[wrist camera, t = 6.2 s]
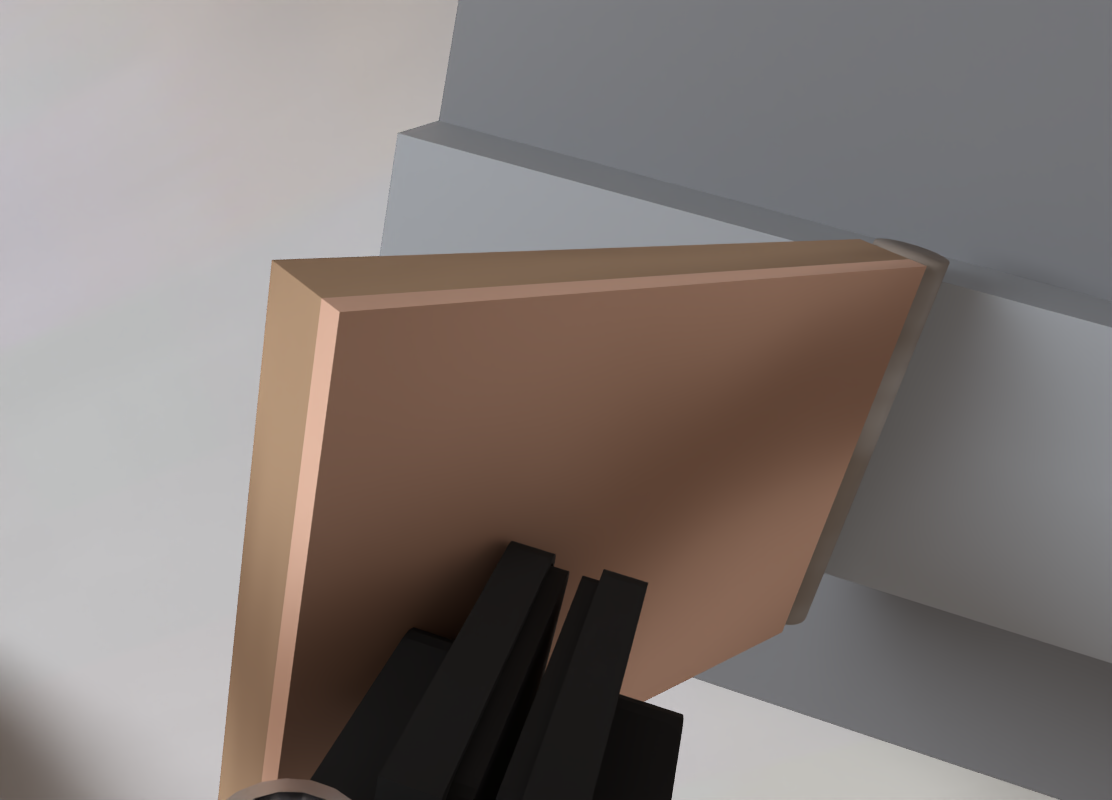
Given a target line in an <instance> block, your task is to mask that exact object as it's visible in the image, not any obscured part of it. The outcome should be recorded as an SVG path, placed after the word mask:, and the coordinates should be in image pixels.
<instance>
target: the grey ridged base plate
mask: <svg viewBox="0 0 1112 800" xmlns="http://www.w3.org/2000/svg"><path fill="white" fill-rule="evenodd" d="M877 238H884V239H892V240H897V241H902V242H906V243H909V244H913V245H916V246H919V247H922V248H925V249H928V250H930V251H933V252H935V253H937V254H939V255H941V256H943V257H945V258H946V259H948V260H949V262H950V263H949V266H948V268H947V271H946V273H945V276H944V278H943V281H942V283H941V286H940V288H939V291H938V293H937V296H936V298H935V301H934V303H933V305H932V308H931V310H930V313H929V315H928V318H927V320H926V323H925V325H924V328H923V330H922V333H921V335H920V338H919V340H918V342H917V345H916V347H915V350H914V352H913V355H912V357H911V360H910V362H909V365H908V367H907V370H906V372H905V375H904V377H903V380H902V382H901V384H900V387H899V389H898V392H897V394H896V397H895V399H894V402H893V404H892V407H891V409H890V412H889V414H888V417H887V419H886V422H885V424H884V426H883V429H882V431H881V434H880V436H879V439H878V441H877V444H876V446H875V449H874V451H873V454H872V456H871V459H870V461H869V463H868V466H867V468H866V471H865V473H864V476H863V478H862V481H861V483H860V486H859V488H858V491H857V493H856V496H855V498H854V501H853V503H852V505H851V508H850V510H849V513H848V515H847V518H846V520H845V523H844V525H843V528H842V530H841V533H840V535H839V538H838V540H837V542H836V545H835V547H834V550H833V552H832V555H831V557H830V560H829V562H828V565H827V567H826V570H825V572H824V575H823V577H822V580H821V582H820V584H819V587H818V589H817V592H816V594H815V597H814V599H813V602H812V604H811V607H810V609H809V612H808V614H807V617H806V619H805V620H804V621H803V622H802V623H799V624H796V625H785V626H784V629H783V631H782V633H780V634H778V635H776V636H774V637H772V638H770V639H768V640H766V641H764V642H762V643H760V644H758V645H756V646H754V647H752V648H750V649H748V650H746V651H744V652H742V653H740V654H738V655H736V656H734V657H732V658H730V659H728V660H726V661H724V662H722V663H720V664H718V665H716V666H714V667H712V668H710V669H708V670H706V671H704V672H702V673H700V674H698V675H696V676H694V677H693V678H696V679H699V680H702V681H705V682H708V683H711V684H714V685H717V686H720V687H723V688H726V689H729V690H732V691H735V692H738V693H741V694H744V695H747V696H750V697H753V698H756V699H759V700H762V701H765V702H768V703H771V704H774V705H777V706H780V707H783V708H786V709H789V710H792V711H795V712H798V713H801V714H804V715H807V716H810V717H813V718H816V719H819V720H822V721H825V722H828V723H831V724H834V725H837V726H840V727H843V728H846V729H849V730H852V731H855V732H858V733H861V734H864V735H867V736H870V737H873V738H876V739H879V740H882V741H885V742H888V743H891V744H894V745H897V746H900V747H903V748H906V749H909V750H912V751H915V752H918V753H921V754H924V755H927V756H930V757H933V758H936V759H939V760H942V761H945V762H948V763H951V764H954V765H957V766H960V767H963V768H966V769H969V770H972V771H975V772H978V773H981V774H985V775H988V776H991V777H994V778H997V779H1000V780H1003V781H1006V782H1009V783H1012V784H1015V785H1018V786H1021V787H1024V788H1027V789H1030V790H1033V791H1036V792H1039V793H1042V794H1045V795H1048V796H1051V797H1054V798H1057V799H1060V800H1112V0H459V1H458V7H457V14H456V20H455V26H454V32H453V38H452V44H451V50H450V56H449V62H448V68H447V74H446V80H445V86H444V93H443V99H442V105H441V111H440V117H439V121H436V122H433V123H430V124H426V125H423V126H420V127H417V128H413V129H410V130H407V131H403V132H400V133H398V135H397V142H396V149H395V155H394V162H393V169H392V176H391V182H390V189H389V196H388V203H387V210H386V216H385V223H384V230H383V237H382V243H381V250H380V256H398V255H426V254H454V253H482V252H510V251H538V250H566V249H594V248H622V247H650V246H678V245H706V244H734V243H762V242H790V241H818V240H846V239H861V240H864V241H866V242H869V243H871V244H873V242H874V240H875V239H877Z"/></svg>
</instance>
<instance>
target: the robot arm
mask: <svg viewBox="0 0 1112 800" xmlns="http://www.w3.org/2000/svg"><path fill="white" fill-rule="evenodd" d="M555 559H556V554H554V553H550V552H547V551H544V550H541V549H537V548H534V547H531V546H528V545H525V544H521V543H518V542H515V541H511V542H510V543H509V545H508V546H507V548H506V550H505V552H504V553H503V555H502V557H501V559H500V560H499V562H498V564H497V566H496V568H495V569H494V571H493V573H492V575H491V576H490V578H489V580H488V582H487V584H486V585H485V587H484V589H483V591H482V592H481V594H480V596H479V598H478V600H477V601H476V603H475V605H474V607H473V608H472V610H471V612H470V614H469V616H468V617H467V619H466V621H465V623H464V624H463V626H462V628H461V630H460V632H459V633H458V635H457V637H456V639H455V640H451V639H448V638H445V637H442V636H439V635H436V634H433V633H430V632H427V631H424V630H421V629H418V628H414V627H413V628H411V629H409V630H408V631H407V633H406V634H405V635H404V637H403V638H402V639H401V641H400V643H399V644H398V646H397V647H396V649H395V650H394V652H393V653H392V655H391V656H390V658H389V659H388V661H387V662H386V664H385V666H384V667H383V669H382V670H381V672H380V673H379V675H378V676H377V678H376V679H375V681H374V682H373V684H372V685H371V687H370V689H369V690H368V692H367V693H366V695H365V696H364V698H363V699H362V701H361V702H360V704H359V705H358V707H357V708H356V710H355V712H354V713H353V715H352V716H351V718H350V719H349V721H348V722H347V724H346V725H345V727H344V728H343V730H342V731H341V733H340V735H339V736H338V738H337V739H336V741H335V742H334V744H333V745H332V747H331V748H330V750H329V751H328V753H327V754H326V756H325V758H324V759H323V761H322V762H321V764H320V765H319V767H318V768H317V770H316V771H315V773H314V774H313V776H312V777H311V779H310V780H301V779H289V778H285V779H278V780H271V781H265V782H260V783H257V784H255V785H252V786H250V787H247V788H245V789H242V790H240V791H237V792H236V793H234V794H233V795H232V796H230V797H229V798H228V799H226V800H671V798H672V792H673V785H674V779H675V773H676V766H677V760H678V753H679V747H680V740H681V734H682V727H683V714H680V713H677V712H674V711H670V710H667V709H664V708H661V707H658V706H655V705H652V704H649V703H646V702H643V701H640V700H637V699H633V698H630V697H627V696H624V695H621V694H620V690H621V686H622V682H623V678H624V675H625V671H626V667H627V663H628V659H629V655H630V652H631V648H632V644H633V640H634V636H635V632H636V629H637V625H638V621H639V617H640V613H641V609H642V606H643V602H644V598H645V594H646V590H647V586H648V582H645V581H642V580H638V579H635V578H632V577H629V576H625V575H622V574H619V573H616V572H612V571H609V570H606V569H604V570H603V572H602V575H601V578H600V580H596V579H593V578H590V577H586V576H582V578H581V580H580V583H579V585H578V588H577V591H576V593H575V596H574V598H573V601H572V603H571V606H570V609H569V611H568V614H567V616H566V619H565V621H564V624H563V627H562V629H561V632H560V634H559V637H558V639H557V642H556V645H555V647H554V650H553V652H552V655H551V657H550V660H549V663H548V665H547V661H548V657H549V653H550V649H551V645H552V641H553V638H554V634H555V630H556V626H557V622H558V618H559V614H560V610H561V606H562V602H563V598H564V594H565V590H566V586H567V582H568V578H569V571H567V570H564V569H560V568H557V567H554V564H555ZM546 665H547V668H546ZM545 669H546V670H545Z"/></svg>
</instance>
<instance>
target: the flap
mask: <svg viewBox="0 0 1112 800" xmlns="http://www.w3.org/2000/svg"><path fill="white" fill-rule="evenodd" d="M949 263H950V262H949V260H948V259H946V258H945V257H943V256H941V255H939V254H937V253H935V252H933V251H930V250H928V249H925V248H922V247H919V246H916V245H913V244H909V243H906V242H902V241H897V240H892V239H884V238H877V239H875V240H874V242H873V244H871V243H869V242H866V241H864V240H861V239H846V240H818V241H790V242H762V243H734V244H706V245H678V246H650V247H622V248H594V249H566V250H538V251H510V252H482V253H454V254H426V255H398V256H370V257H342V258H314V259H286V260H272V265H271V275H270V285H269V295H268V305H267V315H266V325H265V335H264V345H263V355H262V365H261V375H260V385H259V395H258V405H257V415H256V425H255V435H254V445H253V455H252V465H251V475H250V485H249V495H248V505H247V515H246V525H245V535H244V545H243V555H242V565H241V575H240V585H239V595H238V605H237V615H236V625H235V636H234V646H233V656H232V666H231V676H230V686H229V696H228V706H227V716H226V726H225V736H224V746H223V756H222V766H221V776H220V786H219V796H218V800H226V799H228V798H229V797H230V796H232V795H233V794H234V793H236V792H237V791H240V790H242V789H245V788H247V787H250V786H252V785H255V784H257V783H260V782H265V781H271V780H278V779H285V778H289V779H301V780H310V779H311V777H312V776H313V774H314V773H315V771H316V770H317V768H318V767H319V765H320V764H321V762H322V761H323V759H324V758H325V756H326V754H327V753H328V751H329V750H330V748H331V747H332V745H333V744H334V742H335V741H336V739H337V738H338V736H339V735H340V733H341V731H342V730H343V728H344V727H345V725H346V724H347V722H348V721H349V719H350V718H351V716H352V715H353V713H354V712H355V710H356V708H357V707H358V705H359V704H360V702H361V701H362V699H363V698H364V696H365V695H366V693H367V692H368V690H369V689H370V687H371V685H372V684H373V682H374V681H375V679H376V678H377V676H378V675H379V673H380V672H381V670H382V669H383V667H384V666H385V664H386V662H387V661H388V659H389V658H390V656H391V655H392V653H393V652H394V650H395V649H396V647H397V646H398V644H399V643H400V641H401V639H402V638H403V637H404V635H405V634H406V633H407V631H408V630H409V629H411V628H413V627H414V628H418V629H421V630H424V631H427V632H430V633H433V634H436V635H439V636H442V637H445V638H448V639H451V640H455V639H456V637H457V635H458V633H459V632H460V630H461V628H462V626H463V624H464V623H465V621H466V619H467V617H468V616H469V614H470V612H471V610H472V608H473V607H474V605H475V603H476V601H477V600H478V598H479V596H480V594H481V592H482V591H483V589H484V587H485V585H486V584H487V582H488V580H489V578H490V576H491V575H492V573H493V571H494V569H495V568H496V566H497V564H498V562H499V560H500V559H501V557H502V555H503V553H504V552H505V550H506V548H507V546H508V545H509V543H510V542H511V541H515V542H518V543H521V544H525V545H528V546H531V547H534V548H537V549H541V550H544V551H547V552H550V553H554V554H556V559H555V564H554V567H557V568H560V569H564V570H567V571H569V578H568V582H567V586H566V590H565V594H564V598H563V602H562V606H561V610H560V614H559V618H558V622H557V626H556V630H555V634H554V638H553V641H552V645H551V649H550V653H549V657H548V661H547V665H548V663H549V660H550V657H551V655H552V652H553V650H554V647H555V645H556V642H557V639H558V637H559V634H560V632H561V629H562V627H563V624H564V621H565V619H566V616H567V614H568V611H569V609H570V606H571V603H572V601H573V598H574V596H575V593H576V591H577V588H578V585H579V583H580V580H581V578H582V576H586V577H590V578H593V579H596V580H600V578H601V575H602V572H603V570H604V569H606V570H609V571H612V572H616V573H619V574H622V575H625V576H629V577H632V578H635V579H638V580H642V581H645V582H648V586H647V590H646V594H645V598H644V602H643V606H642V609H641V613H640V617H639V621H638V625H637V629H636V632H635V636H634V640H633V644H632V648H631V652H630V655H629V659H628V663H627V667H626V671H625V675H624V678H623V682H622V686H621V690H620V694H621V695H624V696H627V697H630V698H633V699H637V700H640V701H643V702H644V701H646V700H648V699H650V698H652V697H654V696H656V695H658V694H660V693H662V692H664V691H666V690H668V689H670V688H672V687H674V686H676V685H678V684H680V683H682V682H684V681H686V680H688V679H690V678H692V677H694V676H696V675H698V674H700V673H702V672H704V671H706V670H708V669H710V668H712V667H714V666H716V665H718V664H720V663H722V662H724V661H726V660H728V659H730V658H732V657H734V656H736V655H738V654H740V653H742V652H744V651H746V650H748V649H750V648H752V647H754V646H756V645H758V644H760V643H762V642H764V641H766V640H768V639H770V638H772V637H774V636H776V635H778V634H780V633H782V631H783V629H784V626H785V625H796V624H799V623H802V622H803V621H804V620H805V619H806V617H807V614H808V612H809V609H810V607H811V604H812V602H813V599H814V597H815V594H816V592H817V589H818V587H819V584H820V582H821V580H822V577H823V575H824V572H825V570H826V567H827V565H828V562H829V560H830V557H831V555H832V552H833V550H834V547H835V545H836V542H837V540H838V538H839V535H840V533H841V530H842V528H843V525H844V523H845V520H846V518H847V515H848V513H849V510H850V508H851V505H852V503H853V501H854V498H855V496H856V493H857V491H858V488H859V486H860V483H861V481H862V478H863V476H864V473H865V471H866V468H867V466H868V463H869V461H870V459H871V456H872V454H873V451H874V449H875V446H876V444H877V441H878V439H879V436H880V434H881V431H882V429H883V426H884V424H885V422H886V419H887V417H888V414H889V412H890V409H891V407H892V404H893V402H894V399H895V397H896V394H897V392H898V389H899V387H900V384H901V382H902V380H903V377H904V375H905V372H906V370H907V367H908V365H909V362H910V360H911V357H912V355H913V352H914V350H915V347H916V345H917V342H918V340H919V338H920V335H921V333H922V330H923V328H924V325H925V323H926V320H927V318H928V315H929V313H930V310H931V308H932V305H933V303H934V301H935V298H936V296H937V293H938V291H939V288H940V286H941V283H942V281H943V278H944V276H945V273H946V271H947V268H948V266H949ZM547 665H546V668H547ZM545 670H546V669H545Z"/></svg>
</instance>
